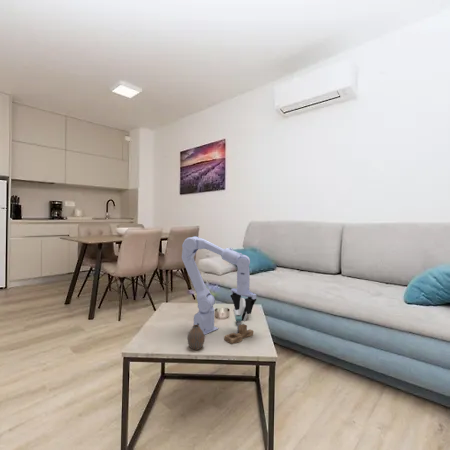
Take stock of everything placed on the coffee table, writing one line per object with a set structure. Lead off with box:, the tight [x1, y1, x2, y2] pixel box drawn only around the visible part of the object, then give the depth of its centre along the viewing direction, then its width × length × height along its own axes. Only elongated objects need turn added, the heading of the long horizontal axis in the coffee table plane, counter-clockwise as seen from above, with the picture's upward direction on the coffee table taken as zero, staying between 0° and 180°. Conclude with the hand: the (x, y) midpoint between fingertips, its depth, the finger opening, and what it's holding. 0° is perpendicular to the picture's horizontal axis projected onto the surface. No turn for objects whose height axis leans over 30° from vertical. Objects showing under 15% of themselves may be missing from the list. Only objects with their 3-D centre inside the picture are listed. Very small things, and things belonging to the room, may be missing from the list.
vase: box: [187, 324, 206, 350], centre depth 115 cm, size 7×7×9 cm
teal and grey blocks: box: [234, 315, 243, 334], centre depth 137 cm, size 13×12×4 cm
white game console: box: [233, 297, 249, 322], centre depth 154 cm, size 17×5×10 cm, turn 3°
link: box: [223, 323, 254, 345], centre depth 124 cm, size 14×5×5 cm, turn 129°
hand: (243, 311), depth 130 cm, fingers open, 7 cm apart
